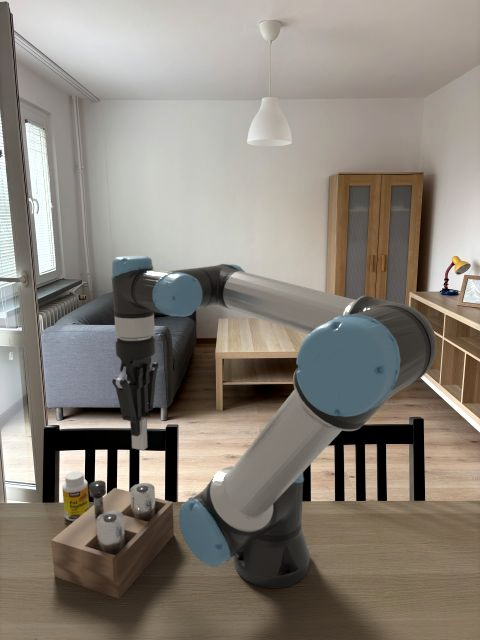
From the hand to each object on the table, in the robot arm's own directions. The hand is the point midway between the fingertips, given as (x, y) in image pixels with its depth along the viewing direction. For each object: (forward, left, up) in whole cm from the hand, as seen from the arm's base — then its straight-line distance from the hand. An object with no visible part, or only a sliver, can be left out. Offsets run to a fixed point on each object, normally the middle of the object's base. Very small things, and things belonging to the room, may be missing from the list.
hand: (139, 447), depth 104 cm
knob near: (0, +11, -18) cm, 21 cm away
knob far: (0, 0, -18) cm, 18 cm away
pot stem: (+7, +6, -14) cm, 16 cm away
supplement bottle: (+20, -2, -22) cm, 30 cm away
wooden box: (+3, +6, -22) cm, 23 cm away
